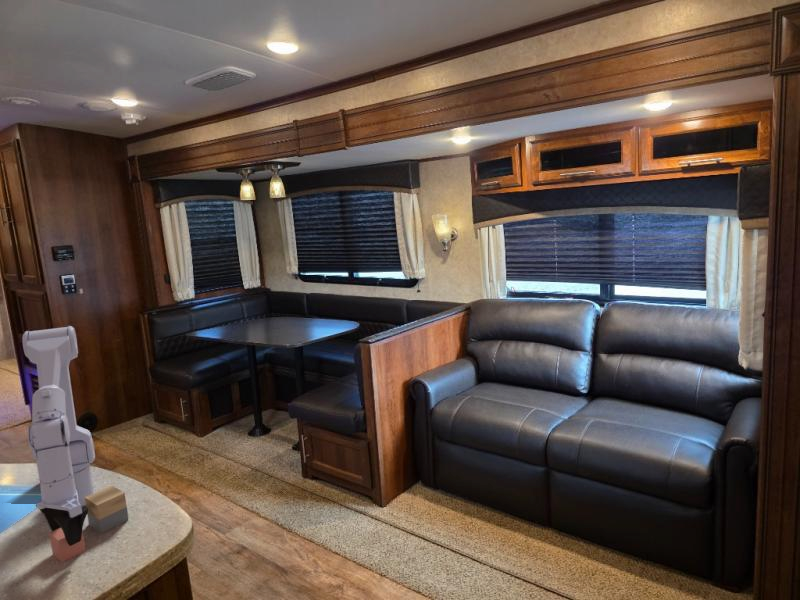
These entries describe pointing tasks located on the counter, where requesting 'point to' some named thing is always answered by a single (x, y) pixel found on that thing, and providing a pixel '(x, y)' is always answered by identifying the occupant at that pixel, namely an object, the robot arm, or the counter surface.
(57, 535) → the red block
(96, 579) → the counter surface
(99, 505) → the tower middle
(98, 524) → the tower base
